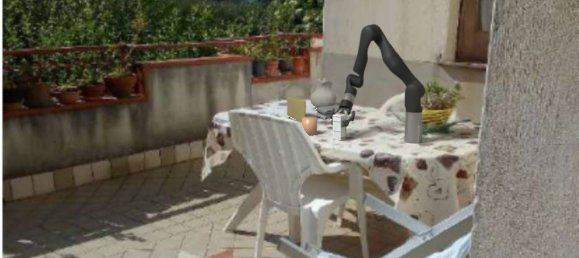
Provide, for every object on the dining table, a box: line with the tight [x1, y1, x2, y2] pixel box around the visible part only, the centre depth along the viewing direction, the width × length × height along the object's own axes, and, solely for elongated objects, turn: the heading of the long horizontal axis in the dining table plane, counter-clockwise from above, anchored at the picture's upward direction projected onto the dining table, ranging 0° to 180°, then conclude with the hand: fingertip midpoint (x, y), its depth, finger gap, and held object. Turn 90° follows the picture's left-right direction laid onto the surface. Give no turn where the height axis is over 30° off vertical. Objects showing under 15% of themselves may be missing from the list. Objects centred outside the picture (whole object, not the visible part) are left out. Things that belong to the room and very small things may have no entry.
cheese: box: [286, 96, 307, 123], centre depth 387 cm, size 22×10×15 cm, turn 19°
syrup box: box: [332, 114, 347, 141], centre depth 331 cm, size 6×6×14 cm
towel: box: [315, 104, 347, 121], centre depth 398 cm, size 15×18×8 cm
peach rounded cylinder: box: [301, 116, 318, 137], centre depth 344 cm, size 9×9×10 cm
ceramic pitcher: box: [309, 75, 337, 109], centre depth 429 cm, size 22×20×25 cm
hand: (339, 125), depth 330 cm, fingers open, 8 cm apart
